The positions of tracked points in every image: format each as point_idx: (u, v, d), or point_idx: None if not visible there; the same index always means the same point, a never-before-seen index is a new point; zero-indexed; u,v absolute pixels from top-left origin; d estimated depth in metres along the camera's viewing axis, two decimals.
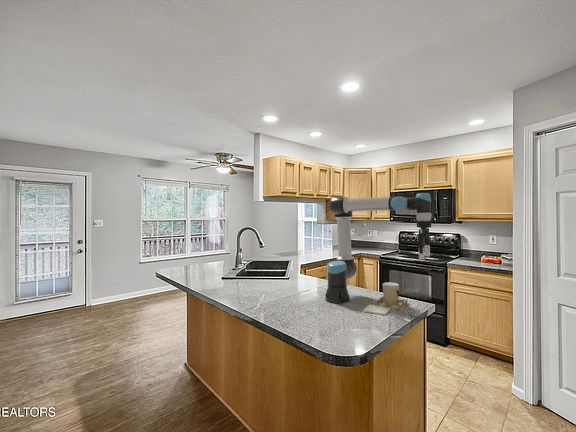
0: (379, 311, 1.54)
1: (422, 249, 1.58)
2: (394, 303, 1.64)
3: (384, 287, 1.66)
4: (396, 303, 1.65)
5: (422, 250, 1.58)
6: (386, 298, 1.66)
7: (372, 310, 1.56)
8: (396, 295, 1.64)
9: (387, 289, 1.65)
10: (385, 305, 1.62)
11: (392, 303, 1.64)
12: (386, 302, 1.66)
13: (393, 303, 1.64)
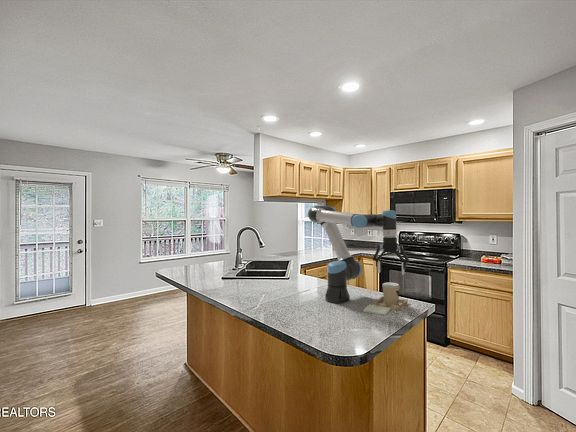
0: (379, 311, 1.54)
1: (376, 263, 1.72)
2: (394, 303, 1.64)
3: (384, 287, 1.66)
4: (396, 303, 1.65)
5: (376, 264, 1.72)
6: (386, 298, 1.66)
7: (372, 310, 1.56)
8: (396, 295, 1.64)
9: (387, 289, 1.65)
10: (385, 305, 1.62)
11: (392, 303, 1.64)
12: (386, 302, 1.66)
13: (393, 303, 1.64)
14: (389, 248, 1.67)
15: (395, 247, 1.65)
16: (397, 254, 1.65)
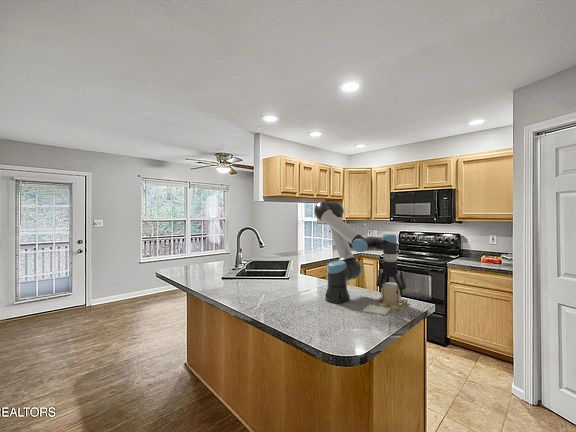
0: (379, 311, 1.54)
1: (380, 289, 1.71)
2: (394, 303, 1.64)
3: (384, 287, 1.66)
4: (396, 303, 1.65)
5: (380, 290, 1.71)
6: (386, 298, 1.66)
7: (372, 310, 1.56)
8: (396, 295, 1.64)
9: (387, 289, 1.65)
10: (385, 305, 1.62)
11: (392, 303, 1.64)
12: (386, 302, 1.66)
13: (393, 303, 1.64)
14: (389, 272, 1.67)
15: (395, 271, 1.65)
16: (396, 279, 1.65)
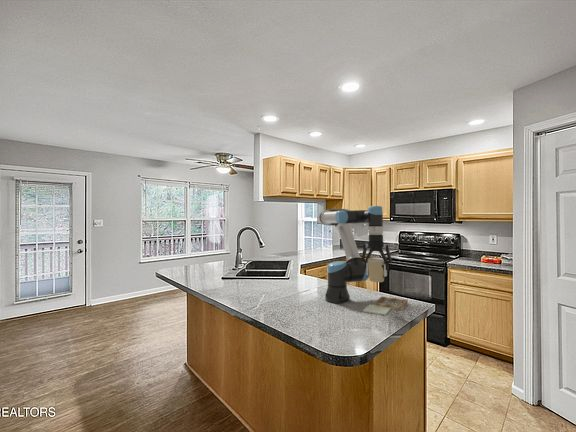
0: (379, 311, 1.54)
1: (365, 264, 1.61)
2: (379, 278, 1.55)
3: (369, 262, 1.57)
4: (382, 278, 1.55)
5: (365, 265, 1.61)
6: (371, 273, 1.56)
7: (372, 310, 1.56)
8: (382, 270, 1.55)
9: (372, 263, 1.55)
10: (385, 305, 1.62)
11: (377, 278, 1.55)
12: (371, 277, 1.57)
13: (378, 278, 1.55)
14: (375, 245, 1.58)
15: (381, 245, 1.56)
16: (381, 253, 1.56)
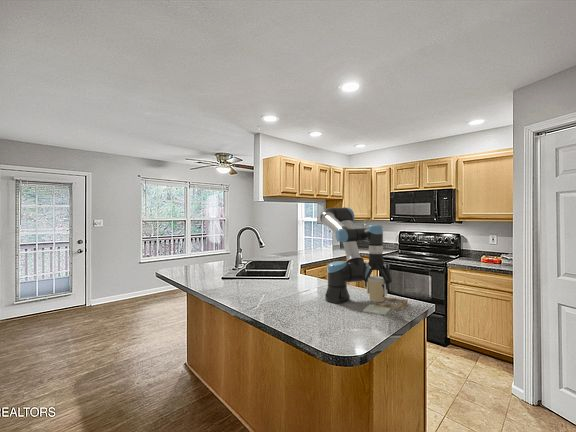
0: (379, 311, 1.54)
1: (366, 283, 1.61)
2: (380, 298, 1.54)
3: (369, 281, 1.57)
4: (382, 298, 1.55)
5: (366, 284, 1.61)
6: (372, 293, 1.56)
7: (372, 310, 1.56)
8: (382, 289, 1.55)
9: (372, 283, 1.55)
10: (385, 305, 1.62)
11: (378, 298, 1.54)
12: (371, 297, 1.56)
13: (379, 298, 1.54)
14: (375, 264, 1.58)
15: (381, 264, 1.56)
16: (382, 273, 1.56)
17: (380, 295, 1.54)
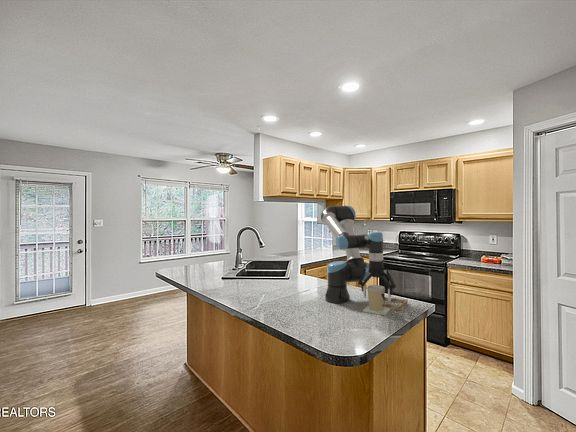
0: (379, 311, 1.54)
1: (362, 287, 1.62)
2: (379, 307, 1.55)
3: (369, 290, 1.57)
4: (381, 307, 1.55)
5: (362, 288, 1.62)
6: (371, 302, 1.56)
7: (372, 310, 1.56)
8: (381, 299, 1.55)
9: (372, 292, 1.56)
10: (385, 305, 1.62)
11: (377, 307, 1.55)
12: (371, 306, 1.57)
13: (378, 307, 1.55)
14: (375, 272, 1.58)
15: (381, 272, 1.56)
16: (383, 279, 1.55)
17: (379, 304, 1.55)
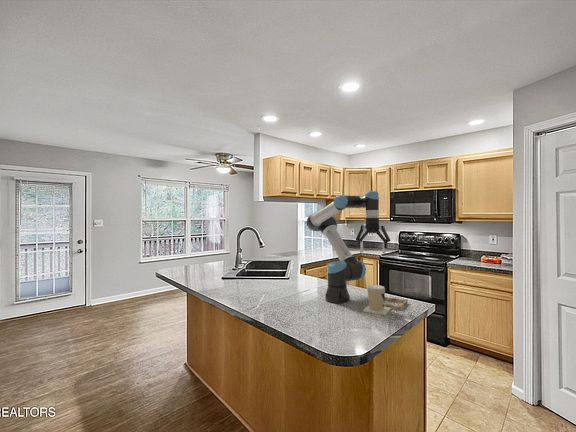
0: (379, 311, 1.54)
1: (359, 243, 1.76)
2: (379, 307, 1.55)
3: (369, 290, 1.57)
4: (381, 307, 1.55)
5: (359, 244, 1.76)
6: (371, 302, 1.56)
7: (372, 310, 1.56)
8: (381, 299, 1.55)
9: (372, 292, 1.56)
10: (385, 305, 1.62)
11: (377, 307, 1.55)
12: (371, 306, 1.57)
13: (378, 307, 1.55)
14: (371, 228, 1.71)
15: (377, 227, 1.69)
16: (378, 234, 1.68)
17: (379, 304, 1.55)
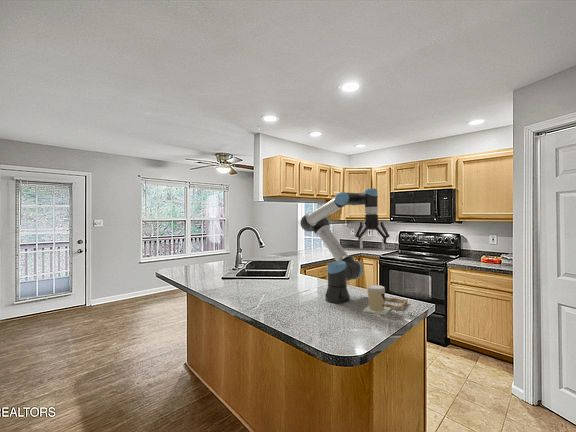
0: (379, 311, 1.54)
1: (359, 239, 1.79)
2: (379, 307, 1.55)
3: (369, 290, 1.57)
4: (381, 307, 1.55)
5: (359, 240, 1.79)
6: (371, 302, 1.56)
7: (372, 310, 1.56)
8: (381, 299, 1.55)
9: (372, 292, 1.56)
10: (385, 305, 1.62)
11: (377, 307, 1.55)
12: (371, 306, 1.57)
13: (378, 307, 1.55)
14: (371, 225, 1.75)
15: (376, 223, 1.73)
16: (378, 230, 1.72)
17: (379, 304, 1.55)
